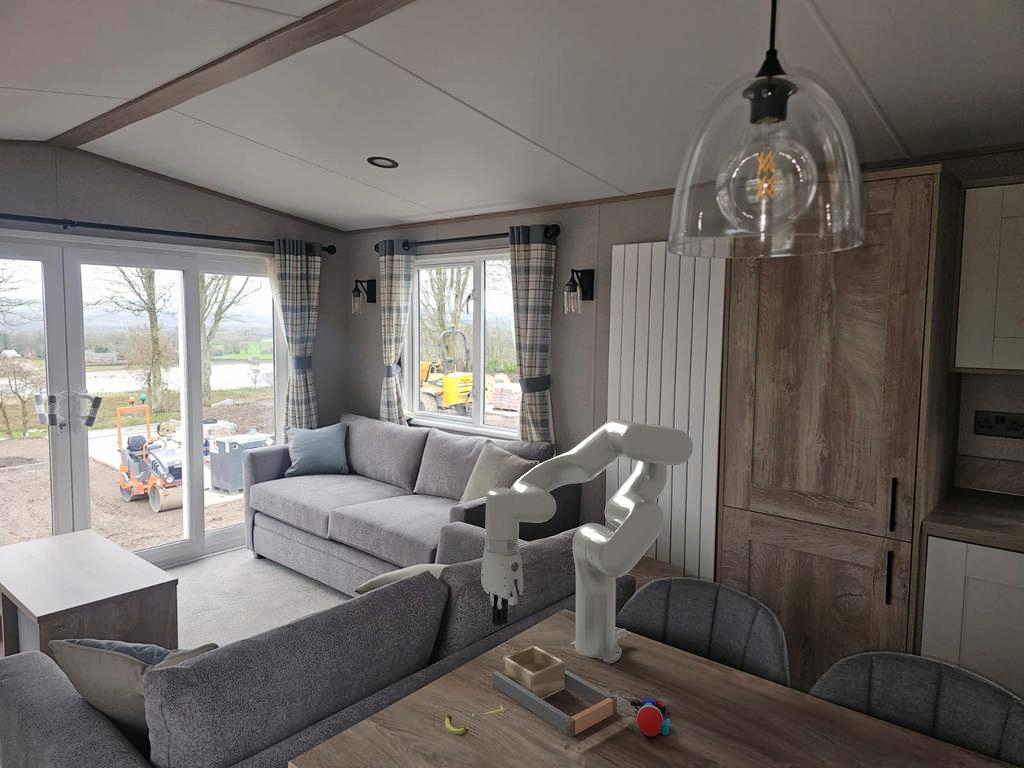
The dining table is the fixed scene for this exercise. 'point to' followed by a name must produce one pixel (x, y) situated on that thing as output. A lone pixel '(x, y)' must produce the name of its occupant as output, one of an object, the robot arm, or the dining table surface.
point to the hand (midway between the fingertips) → (499, 623)
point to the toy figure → (651, 717)
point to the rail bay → (554, 716)
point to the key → (464, 730)
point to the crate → (535, 671)
